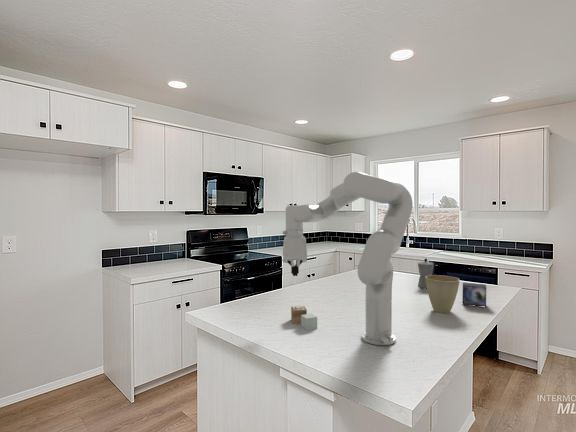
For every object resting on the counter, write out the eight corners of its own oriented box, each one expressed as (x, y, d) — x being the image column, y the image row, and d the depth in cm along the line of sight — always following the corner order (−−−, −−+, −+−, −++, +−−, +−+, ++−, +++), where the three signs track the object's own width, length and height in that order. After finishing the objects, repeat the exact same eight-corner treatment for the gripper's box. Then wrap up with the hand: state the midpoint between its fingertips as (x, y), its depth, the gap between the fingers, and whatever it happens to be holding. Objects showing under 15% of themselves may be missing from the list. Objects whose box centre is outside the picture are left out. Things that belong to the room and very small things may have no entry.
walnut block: (292, 310, 143) (293, 324, 143) (306, 309, 143) (306, 323, 144) (291, 306, 149) (291, 319, 149) (304, 305, 149) (304, 319, 150)
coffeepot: (424, 290, 201) (424, 260, 201) (412, 286, 209) (412, 258, 209) (441, 287, 208) (441, 258, 208) (429, 284, 216) (429, 256, 216)
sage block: (317, 328, 138) (317, 316, 137) (306, 330, 136) (306, 318, 135) (311, 325, 142) (311, 313, 142) (301, 326, 140) (301, 315, 140)
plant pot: (448, 318, 150) (448, 282, 149) (419, 309, 162) (419, 277, 162) (465, 312, 158) (466, 278, 157) (436, 304, 170) (437, 273, 170)
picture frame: (462, 305, 169) (462, 284, 169) (462, 302, 175) (462, 282, 175) (486, 308, 164) (486, 287, 164) (485, 304, 170) (485, 284, 170)
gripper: (278, 234, 140) (279, 277, 141) (313, 233, 143) (313, 276, 143) (276, 233, 148) (277, 274, 148) (309, 232, 150) (309, 273, 150)
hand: (295, 275), depth 145 cm, fingers closed
